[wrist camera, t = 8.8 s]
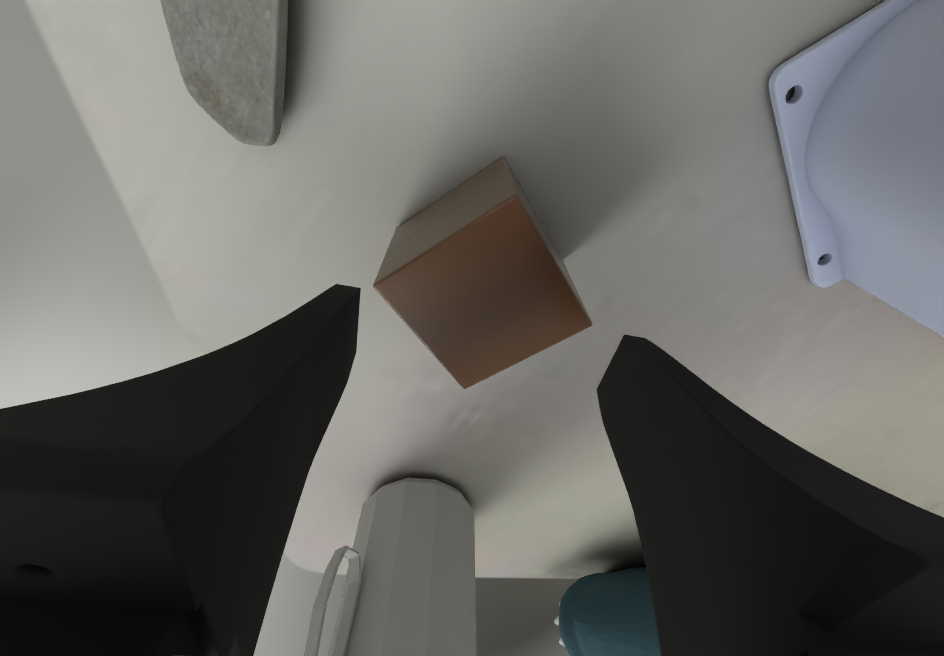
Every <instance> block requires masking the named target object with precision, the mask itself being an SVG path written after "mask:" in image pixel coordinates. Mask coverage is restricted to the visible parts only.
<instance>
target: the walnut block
mask: <svg viewBox="0 0 944 656" xmlns="http://www.w3.org/2000/svg"><path fill="white" fill-rule="evenodd" d="M373 286H374V288H375V289H376V290H377V291H378V292H379V294H380V295H381V296H382V297H383V298H384V299H385V300H386V302H387V303H388V304H389V305H390V306H391V307H392V308H393V309H394V311H395V312H396V313H397V314H398V315H399V316H400V317H401V319H402V320H403V321H404V322H405V323H406V324H407V325H408V326H409V328H410V329H411V330H412V331H413V332H414V333H415V334H416V335H417V337H418V338H419V339H420V340H421V341H422V342H423V343H424V345H425V346H426V347H427V348H428V349H429V350H430V351H431V352H432V354H433V355H434V356H435V357H436V358H437V359H438V360H439V362H440V363H441V364H442V365H443V366H444V367H445V368H446V369H447V371H448V372H449V373H450V374H451V375H452V376H453V377H454V379H455V380H456V381H457V382H458V383H459V384H460V385H461V386H462V388H464V389H466V388H468V387H470V386H472V385H474V384H476V383H478V382H480V381H482V380H484V379H486V378H488V377H490V376H492V375H494V374H496V373H498V372H500V371H502V370H504V369H506V368H508V367H510V366H512V365H514V364H516V363H518V362H520V361H522V360H524V359H526V358H528V357H530V356H532V355H534V354H536V353H538V352H540V351H542V350H544V349H546V348H548V347H550V346H552V345H554V344H556V343H558V342H560V341H562V340H564V339H566V338H568V337H570V336H572V335H574V334H576V333H578V332H580V331H582V330H584V329H586V328H588V327H590V326H591V325H592V322H591V320H590V317H589V315H588V313H587V311H586V309H585V307H584V305H583V302H582V300H581V298H580V296H579V294H578V292H577V290H576V287H575V285H574V283H573V281H572V279H571V277H570V275H569V272H568V270H567V268H566V266H565V264H564V262H563V260H562V258H561V256H560V255H559V253H558V251H557V249H556V248H555V246H554V244H553V242H552V241H551V239H550V237H549V235H548V234H547V232H546V230H545V228H544V227H543V225H542V223H541V221H540V220H539V218H538V216H537V214H536V213H535V211H534V209H533V207H532V206H531V204H530V202H529V200H528V199H527V197H526V195H525V193H524V192H523V190H522V188H521V186H520V185H519V183H518V181H517V179H516V178H515V176H514V174H513V172H512V171H511V169H510V167H509V165H508V164H507V162H506V160H505V158H504V157H501V158H499V159H498V160H496V161H495V162H493V163H492V164H490V165H489V166H487V167H486V168H484V169H483V170H481V171H480V172H478V173H477V174H475V175H474V176H472V177H471V178H469V179H468V180H467V181H465V182H464V183H462V184H461V185H459V186H458V187H456V188H455V189H453V190H452V191H450V192H449V193H447V194H446V195H444V196H443V197H441V198H440V199H438V200H437V201H435V202H434V203H432V204H431V205H430V206H428V207H427V208H425V209H424V210H422V211H421V212H419V213H418V214H416V215H415V216H413V217H412V218H410V219H409V220H407V221H406V222H404V223H403V224H401V225H400V226H398V227H397V228H396V230H395V233H394V235H393V238H392V240H391V243H390V245H389V248H388V250H387V252H386V255H385V257H384V260H383V262H382V265H381V267H380V270H379V272H378V275H377V277H376V280H375V282H374V284H373Z"/></svg>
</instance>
